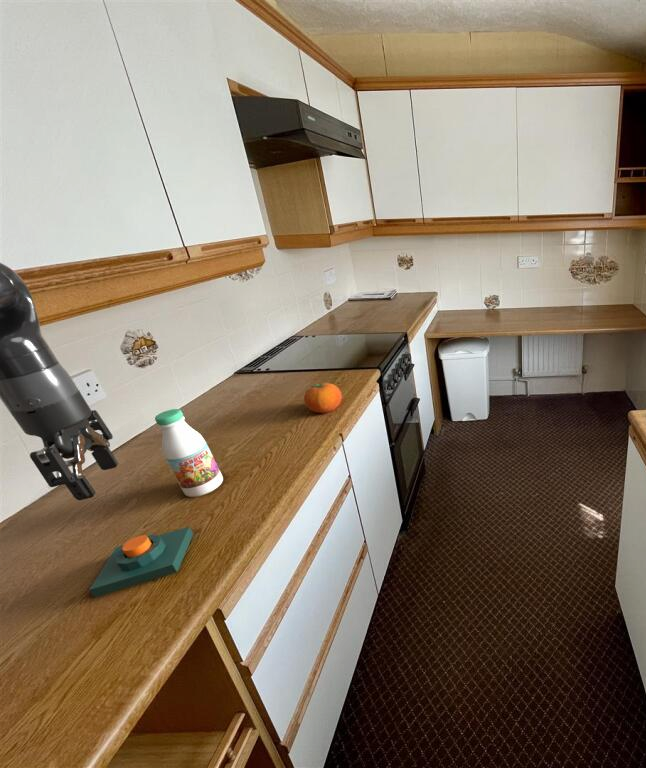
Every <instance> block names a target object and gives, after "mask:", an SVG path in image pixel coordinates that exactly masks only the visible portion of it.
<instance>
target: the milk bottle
mask: <svg viewBox="0 0 646 768" xmlns="http://www.w3.org/2000/svg"><path fill="white" fill-rule="evenodd" d="M154 420H155V422H156V424H157V425H158V427H159V428H160V429H161V431H162V439H161V440H162V441H161V450H162V454H163V456H164V458H165V460H166V462H167V464H168V466H169V468H170V470H171V472H172V474H173V476H174V478H175V479H176V481H177V483H178V485H179V487H180V489H181V491H182V492H183V494H184V495H185V496H186V497H189V498H196V497H200V496H201V497H202V496H203V495H204V496H205V495H206V494H209V493H211V492H213V491H214V490H216V489H217V488H219V487H220V485H222V483H223V482H224V477H223V475H222V472H221V470H220V468H219V465H218V464H217V462H216V460H215V458H214V455H213V453H212V452H211V449H210V448H209V445H208V443H207V441H206V440H205V438H204V437H203V435H202V434H201V433H200V432H198V431H197V430H195V429H194V428H193V427H192V426H190V425H189V424H188V423H187V422H186V421H185V420H186V419H185V416H184V413H183V412H182V410H181V409H179V408H173V409H167V410H165V411H163V412H160V413H158V414H157V415H155V417H154Z"/></svg>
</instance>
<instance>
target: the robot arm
mask: <svg viewBox="0 0 646 768" xmlns="http://www.w3.org/2000/svg"><path fill="white" fill-rule="evenodd" d="M0 400H1V401H2V403H3V405H4V406H5V407H6V409H7V410H8V412H9V413H10V415H11V416H12V418H13V419H14V420H15V422H16V423H17V425H18V426H19V427H20V428H21V430H22V431H23V432H24V434H26V435H28V436H30V437H31V436H33V437H38V438H40V439H41V441H42V443H43V448H42V449H39V450H36V451H32V452H30V453H29V457H30V459H31V461H32V462H33V464H34V466H35V467H36V468H37V470H38V471H39V473H40V475H41V476H42V478H43V479H44V480H45V483H46V484H47V485H48V487H49V488H55V487H58V486H62V485H64V486H66V488H67V489H68V491H69V492H70V494H71V495H72V496H73V498H74V499H75V500H77V501H84V500H87V499H92V498H94V496H95V495H96V493H97V492H96V491H95V489H94V488H93V485H91V483H90V482H89V480H88V478H87V477H86V476H85V475H84V472H83V464H85V462H86V457H85V454H86V453H87V451H89V452H91V456H92V458H93V459H94V460H95V462H96V464H97V465H98V466H99V468H100V469H101V470H103V471H108V470H112V469H115V468H117V467H118V465H119V462H118V461H117V458H116V457H115V456H114V454H113V452H112V450H111V449H110V447H111V443H110V440H112V439H113V438H114V436H113V434H112V432H111V430H110V429H109V428H108V426H107V424H106V423H105V421H104V420H103V418H102V417H101V415H100V414H99V412H98V411H97V410H96V409H93V410H92V409H91V408H90V405H89V404H88V402H87V401H86V400H85V397H84V396H83V394H82V393H81V391H80V390H79V388H78V387H77V384H76V383H75V382H74V379H72V377H71V375H70V374H69V372H68V370H66V369H65V368H64V366H63V365H62V364H61V363H60V361H59V359H58V358H57V357H56V355H55V353H54V352H53V349H51V347H50V345H49V344H48V342H47V340H46V339H45V338H44V335H43V334H42V330H41V324H40V320H39V316H38V313H37V309H36V306H35V303H34V299H33V296H32V294H31V291H30V289H29V287H28V285H27V284H26V283H25V281H24V279H22V277H21V276H20V275H19V274H18V273H16V271H14V270H13V269H12V268H10V267H9V266H7V265H6V264H4V263H2V262H0ZM97 431H100V432H101V433H100V432H97ZM71 467H72V470H71V469H70V468H71ZM54 473H56V476H55V474H54Z"/></svg>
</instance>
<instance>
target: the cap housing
mask: <svg viewBox="0 0 646 768" xmlns="http://www.w3.org/2000/svg"><path fill="white" fill-rule="evenodd" d="M146 536H147V537H148V539H149V540H150V542H151V543H152V546H151V548H149V549H148V550H147V551H146V552H144V553H142V554H141V555H139V556H136V557H133V558H128V557H127V556H126V554H125V553H124V551H123V550H122V547H123V546H124V544H123V545H119V546H115V548H114V549H113V550H112V552H111V554H110V556H109V557H108V559H107V560H106V562H105V564H104V565H103V567H102V569H101V570H100V572H99V573H98V575H97V576H96V578H95V580H94V581H93V583H92V584H91V586H90V587H89V589H88V591H89V592H90V594H92V596H93V597H94V598H98V597H101V596H105V595H107V594H111V593H113V592H114V593H115V592H117V591H121V590H123V589H127V588H130V587H134V586H137V585H140V584H143V583H147V582H150V581H153V580H156V579H159V578H160V579H161V578H163V577H166V576H170V575H172V574H176V573H178V572H179V568H180V567H181V565H182V562H183V560H184V557H185V555H186V553H187V550H188V548H189V546H190V543H191V541H192V538H193V536H194V532H193V531H192V529H191V527H190V526H186V527H182V528H179V529H176V530H173V531H169V532H166V533H165V532H164V533H161V534H149V535H146Z"/></svg>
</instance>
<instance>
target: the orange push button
mask: <svg viewBox="0 0 646 768" xmlns="http://www.w3.org/2000/svg"><path fill="white" fill-rule="evenodd" d="M147 536H148V535H143V534H142V535H138V536H135V537H133V538H131V539H129V540H128V541H126V542H125V543H124V544H123V545H124V546H123V547H122V550H123V551H124V553H125V554H126V556H127V557H128V558H133V557H136V556H139V555H141V554H142V553H144V552H146V551H147V550H148V549H149V548H151V546H152V543H151V542H150V540H149V539H148V537H147Z"/></svg>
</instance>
